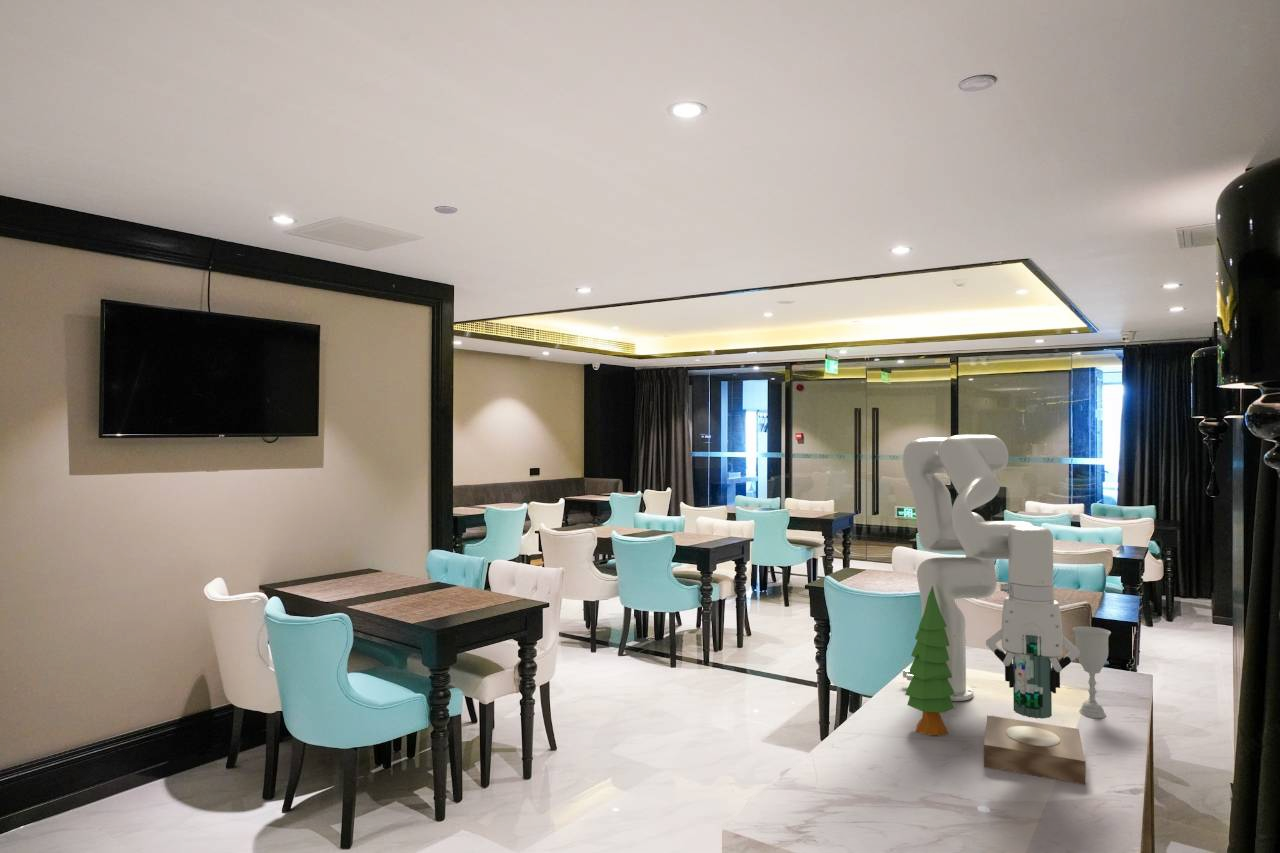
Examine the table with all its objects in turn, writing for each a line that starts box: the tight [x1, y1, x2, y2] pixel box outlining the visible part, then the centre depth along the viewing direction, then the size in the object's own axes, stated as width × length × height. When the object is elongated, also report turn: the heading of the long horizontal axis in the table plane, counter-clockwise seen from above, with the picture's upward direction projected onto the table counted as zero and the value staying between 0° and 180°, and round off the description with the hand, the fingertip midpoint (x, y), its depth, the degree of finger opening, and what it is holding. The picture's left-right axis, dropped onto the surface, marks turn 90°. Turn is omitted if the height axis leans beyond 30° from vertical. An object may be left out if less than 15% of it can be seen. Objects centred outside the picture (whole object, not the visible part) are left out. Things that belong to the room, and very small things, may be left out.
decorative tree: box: [904, 585, 955, 737], centre depth 155 cm, size 10×9×30 cm
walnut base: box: [983, 714, 1087, 785], centre depth 141 cm, size 16×16×4 cm
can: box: [1012, 635, 1053, 720], centre depth 141 cm, size 6×6×15 cm
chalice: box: [1072, 625, 1112, 719], centre depth 164 cm, size 7×7×18 cm
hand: (1032, 687), depth 141 cm, fingers closed on can, 6 cm apart
